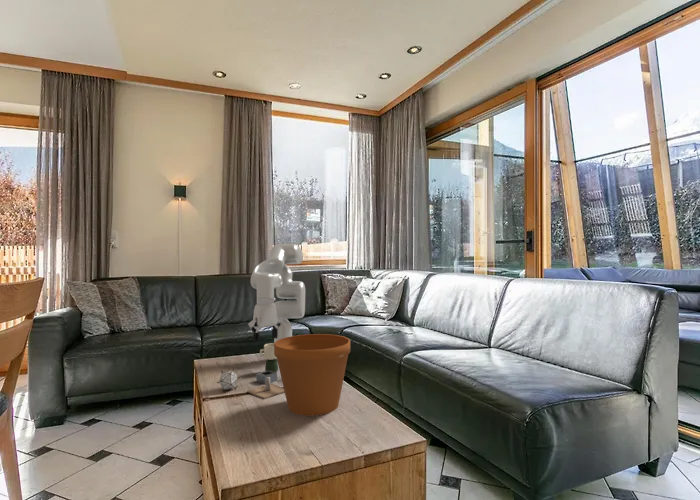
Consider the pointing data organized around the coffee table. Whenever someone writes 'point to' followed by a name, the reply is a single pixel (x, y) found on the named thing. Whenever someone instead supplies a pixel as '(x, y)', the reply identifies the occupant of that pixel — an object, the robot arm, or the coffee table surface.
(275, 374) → the link
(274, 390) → the tan piece
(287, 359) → the flowerpot
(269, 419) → the coffee table surface
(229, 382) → the game die
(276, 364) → the character mug
